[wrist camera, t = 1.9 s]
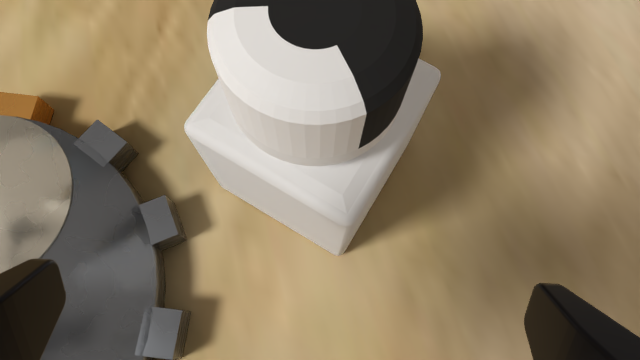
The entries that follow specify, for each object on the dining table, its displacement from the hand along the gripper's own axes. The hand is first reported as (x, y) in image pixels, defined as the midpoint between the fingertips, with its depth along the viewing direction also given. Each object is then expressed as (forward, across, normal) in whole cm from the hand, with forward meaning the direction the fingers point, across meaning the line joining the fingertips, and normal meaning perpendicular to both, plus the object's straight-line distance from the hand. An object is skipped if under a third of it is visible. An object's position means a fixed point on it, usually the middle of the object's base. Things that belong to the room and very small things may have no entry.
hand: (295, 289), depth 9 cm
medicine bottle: (+15, 0, +4) cm, 15 cm away
